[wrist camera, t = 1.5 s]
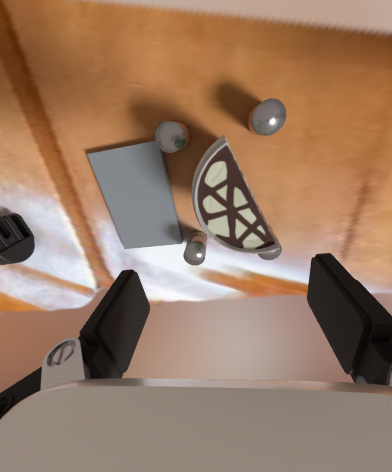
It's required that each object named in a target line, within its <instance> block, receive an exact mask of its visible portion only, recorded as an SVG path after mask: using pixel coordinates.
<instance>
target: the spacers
mask: <svg viewBox="0 0 392 472" xmlns="http://www.w3.org/2000/svg"><path fill="white" fill-rule="evenodd" d="M285 119H286V109H285V106H284V104H283V103H282V102H281V101H280V100H278V99H267V100H265V101H263V102H262V103H260V104H259V105H258V106H256V107H255V108H253V109H252V110H251V112H250V113H249V115H248V119H247V125H248V128H249V130H250V131H251V132H252V133H254V134H257V135H272V134H274V133H276V132H277V131H279V130H280V129H281V127H282V126H283V124H284V122H285ZM155 140H156V143H157V145H158V147H159V148H160V149H161V150H162V151H164V152H166V153H174V152H176V151H178V150H181V149H183V148H185V147H186V146H187V145H188V143H189V141H190V132H189V130H188V128H187V127H186V126H185V125H184V124H182V123H178V122H173V121H164V122H162V123H161V124H160V125H159V126H158V127H157V129H156V132H155ZM268 226H269V225H268ZM269 228H270V230H271V233H272V235H273V237H274V239H275V241H276V243H277V245H278V247H279V249H277V250H274V251H270V252H265V253H258V255H259V256H260V257H261V258H262V259H264V260H273V259H275V258H277V257H278V256H279V255H280V254H281V251H282V248H281V245H280V243H279V241H278V239H277V237H276V235H275V233H274V232H273V230H272V228H271V227H270V226H269ZM206 246H207V236H206V235H205V233H203V232H201V231H194V232H192V233H191V234H190V235H189V238H188V242H187V245H186V248H185V252H184V259H185V261H186V262H187V263H189V264H191V265H200V264H201V263H203V262H204V260H205V254H206Z"/></svg>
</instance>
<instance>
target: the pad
mask: <svg viewBox="0 0 392 472" xmlns="http://www.w3.org/2000/svg"><path fill="white" fill-rule="evenodd" d="M87 155H88V158H89V160H90V163H91V165H92V168H93V170H94V173H95V175H96V178H97V181H98V183H99V186H100V188H101V191H102V193H103V196H104V198H105V201H106V203H107V206H108V208H109V211H110V213H111V216H112V218H113V221H114V223H115V226H116V228H117V231H118V233H119V236H120V238H121V241H122V244H123V246H124V249H130V248H140V247H151V246H162V245H173V244H182V242H183V238H182V234H181V230H180V225H179V221H178V217H177V212H176V208H175V204H174V199H173V195H172V191H171V186H170V182H169V178H168V173H167V169H166V165H165V161H164V156H163V152H162V150H161V149H160V148H159V147H158V145H157V143H156V141H151V142H146V143H141V144H136V145H131V146H126V147H121V148H116V149H111V150H106V151H101V152H96V153H91V154H87Z"/></svg>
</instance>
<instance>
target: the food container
mask: <svg viewBox="0 0 392 472" xmlns="http://www.w3.org/2000/svg"><path fill="white" fill-rule="evenodd" d="M192 202H193V208H194V211H195V214H196V217H197V219H198V221H199V223H200V225H201V227H202V228H203V229H204V231H205V232H206V233H207V234H208V235H209V236H210V237H211V238H212V239H213V240H214V241H216V242H217V243H219V244H220V245H222V246H224V247H226V248H228V249H230V250H233V251H236V252H241V253H251V254H256V253H265V252H270V251H274V250H277V249H279V247H278V245H277V243H276V241H275V239H274V237H273V235H272V233H271V230H270V228H269V226H268V224H267V222H266V220H265V218H264V216H263V214H262V212H261V210H260V208H259V206H258V204H257V202H256V200H255V198H254V196H253V194H252V192H251V190H250V188H249V185H248V183H247V181H246V179H245V177H244V175H243V173H242V171H241V169H240V167H239V165H238V163H237V161H236V159H235V157H234V155H233V153H232V151H231V149H230V146H229V144H228V142H227V140H226V138H225V136H224V135H223V136H221V137H220V138H219V139H218V140H216V141H215V142H214V143H213V144H212V145H211V146H210V147H209V148H208V150H207V151H206V152H205V154H204V155H203V157H202V158H201V160H200V162H199V164H198V166H197V168H196V170H195V174H194V177H193V182H192Z"/></svg>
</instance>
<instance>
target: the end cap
mask: <svg viewBox="0 0 392 472" xmlns="http://www.w3.org/2000/svg"><path fill="white" fill-rule="evenodd" d="M34 248H35V243H34V236H33V234H32V232H31V231H30V229H29V228H28V226H27V225H26V223H25V222H24V220H23V219H22V217H21V216H20V215H19V214H13V215H8V216H3V217H0V265H5V264H13V263H19V262H23V261H25V260H27V259H28V258H29V257H30V256H31V255H32V253H33V251H34Z"/></svg>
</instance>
